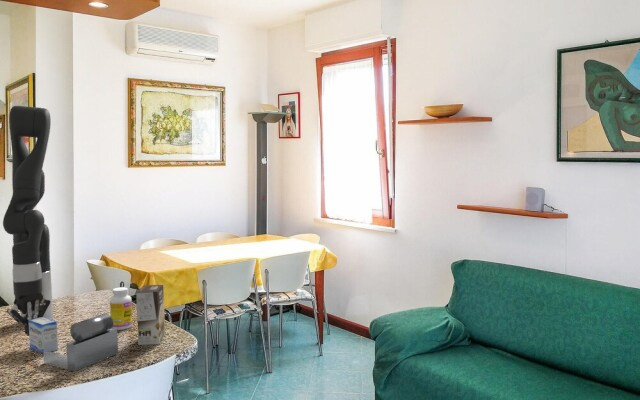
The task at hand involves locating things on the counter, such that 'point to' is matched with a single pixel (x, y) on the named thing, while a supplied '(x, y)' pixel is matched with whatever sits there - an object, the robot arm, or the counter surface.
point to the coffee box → (150, 314)
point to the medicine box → (43, 335)
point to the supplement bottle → (121, 309)
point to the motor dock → (87, 344)
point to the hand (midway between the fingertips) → (30, 335)
